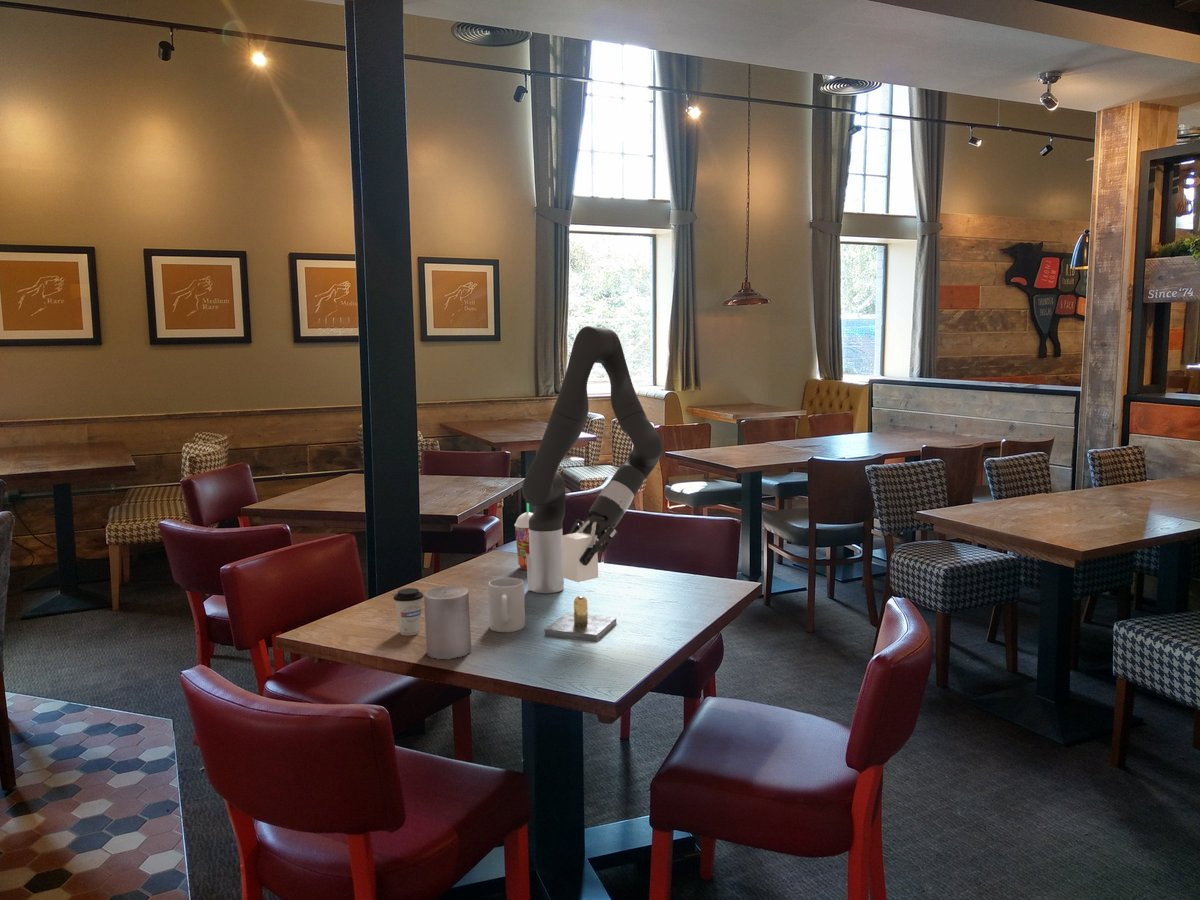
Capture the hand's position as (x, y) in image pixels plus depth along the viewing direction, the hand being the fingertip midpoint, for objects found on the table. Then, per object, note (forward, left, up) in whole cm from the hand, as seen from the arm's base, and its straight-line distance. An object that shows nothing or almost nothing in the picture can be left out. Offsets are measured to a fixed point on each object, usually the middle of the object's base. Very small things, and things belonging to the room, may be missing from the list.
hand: (573, 560), depth 195 cm
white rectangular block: (+1, +1, -4) cm, 5 cm away
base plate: (+1, +1, -17) cm, 17 cm away
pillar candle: (-21, -22, -17) cm, 35 cm away
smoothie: (-36, +50, -17) cm, 64 cm away
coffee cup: (-37, -13, -17) cm, 43 cm away
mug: (-16, -4, -17) cm, 24 cm away
